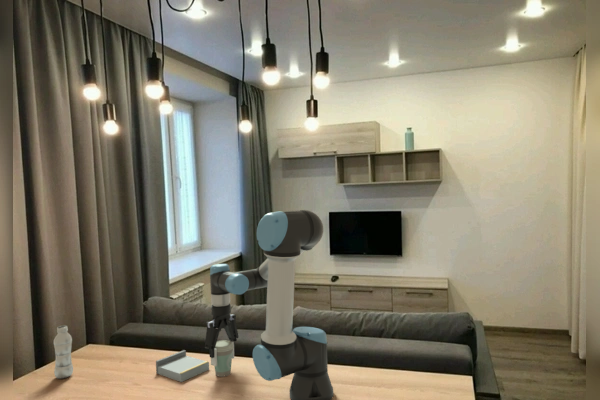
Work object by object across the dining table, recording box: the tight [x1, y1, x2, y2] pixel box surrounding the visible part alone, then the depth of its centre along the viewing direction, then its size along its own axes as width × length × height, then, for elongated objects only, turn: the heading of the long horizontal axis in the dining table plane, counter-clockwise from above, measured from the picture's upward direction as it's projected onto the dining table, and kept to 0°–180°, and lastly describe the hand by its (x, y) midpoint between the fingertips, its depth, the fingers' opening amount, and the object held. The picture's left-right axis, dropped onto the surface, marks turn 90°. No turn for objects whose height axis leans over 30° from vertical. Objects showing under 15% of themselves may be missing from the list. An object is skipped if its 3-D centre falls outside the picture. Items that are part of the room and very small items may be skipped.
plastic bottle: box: [53, 325, 74, 380], centre depth 176 cm, size 6×7×20 cm
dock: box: [155, 349, 210, 383], centre depth 178 cm, size 15×14×5 cm
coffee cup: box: [214, 339, 233, 378], centre depth 175 cm, size 8×9×12 cm
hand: (222, 361), depth 175 cm, fingers closed on coffee cup, 8 cm apart
